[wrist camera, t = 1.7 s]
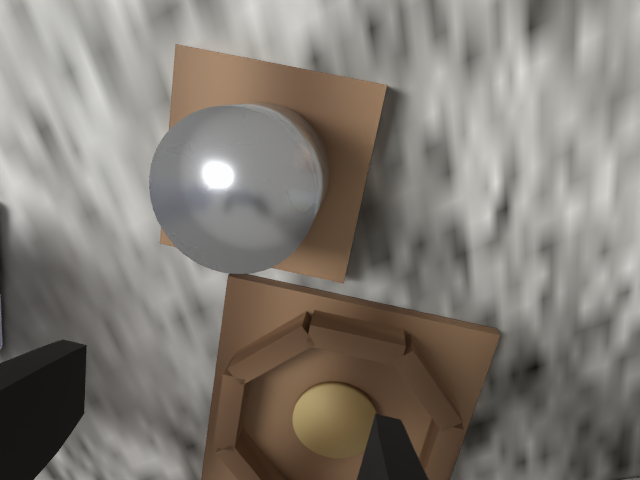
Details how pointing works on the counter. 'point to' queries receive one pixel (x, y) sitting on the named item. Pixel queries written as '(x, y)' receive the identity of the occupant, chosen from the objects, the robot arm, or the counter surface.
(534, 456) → the counter surface
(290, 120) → the silver metal canister
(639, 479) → the coffee box
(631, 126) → the counter surface
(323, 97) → the walnut stand
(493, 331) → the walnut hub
